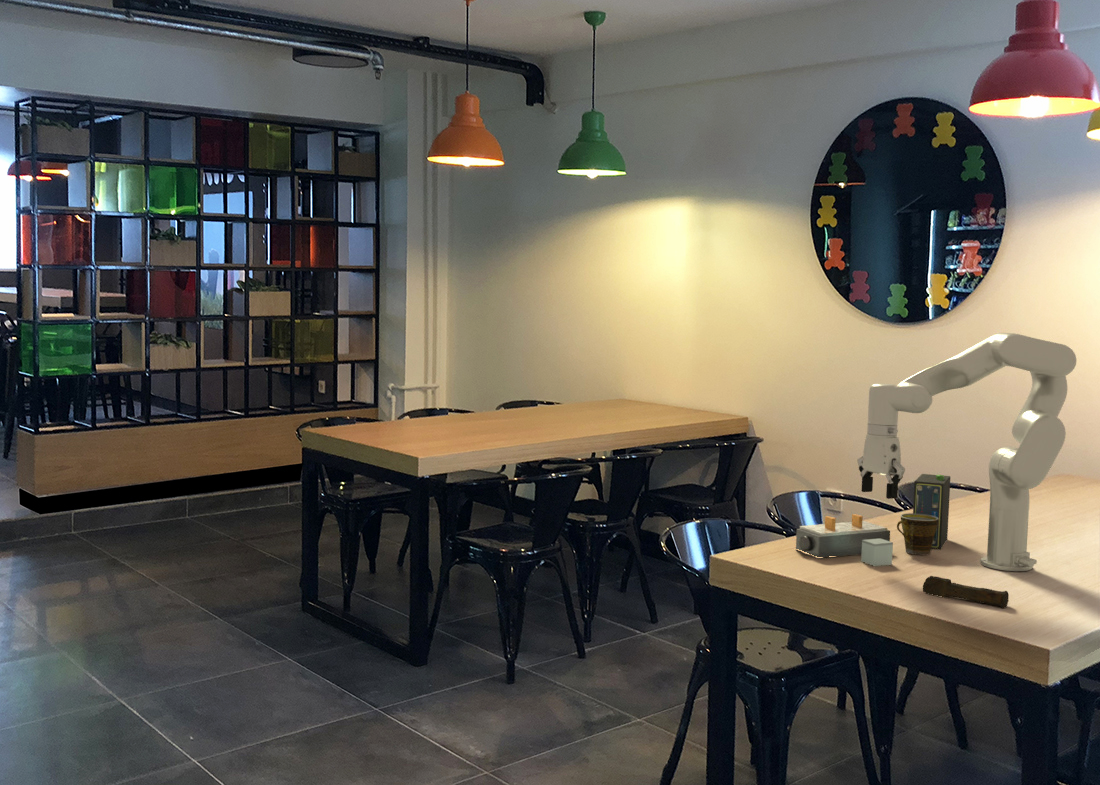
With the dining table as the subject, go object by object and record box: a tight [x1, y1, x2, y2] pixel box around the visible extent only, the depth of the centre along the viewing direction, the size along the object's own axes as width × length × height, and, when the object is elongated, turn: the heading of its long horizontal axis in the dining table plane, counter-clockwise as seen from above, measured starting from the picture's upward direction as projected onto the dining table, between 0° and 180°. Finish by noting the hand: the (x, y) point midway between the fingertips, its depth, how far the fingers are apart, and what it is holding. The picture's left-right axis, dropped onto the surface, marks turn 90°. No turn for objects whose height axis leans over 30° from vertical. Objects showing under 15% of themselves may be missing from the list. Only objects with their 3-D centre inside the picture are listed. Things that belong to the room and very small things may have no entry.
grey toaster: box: [795, 513, 891, 557], centre depth 285 cm, size 10×25×10 cm, turn 112°
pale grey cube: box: [860, 538, 894, 567], centre depth 273 cm, size 5×6×6 cm
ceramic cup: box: [896, 512, 939, 556], centre depth 285 cm, size 13×10×10 cm
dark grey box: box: [912, 473, 951, 551], centre depth 297 cm, size 8×18×20 cm, turn 152°
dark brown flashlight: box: [922, 575, 1009, 610], centre depth 240 cm, size 19×4×5 cm, turn 50°
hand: (879, 494), depth 272 cm, fingers open, 9 cm apart
